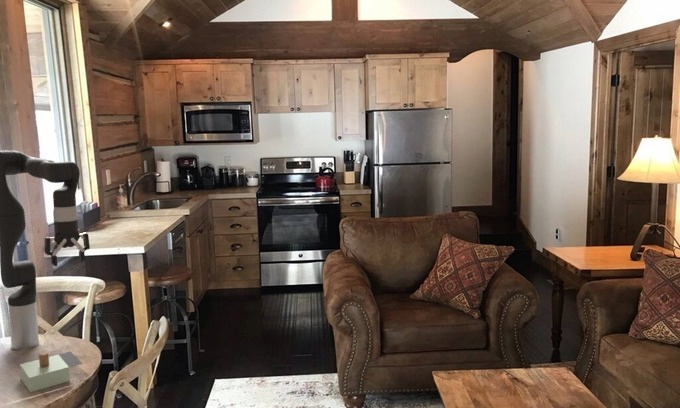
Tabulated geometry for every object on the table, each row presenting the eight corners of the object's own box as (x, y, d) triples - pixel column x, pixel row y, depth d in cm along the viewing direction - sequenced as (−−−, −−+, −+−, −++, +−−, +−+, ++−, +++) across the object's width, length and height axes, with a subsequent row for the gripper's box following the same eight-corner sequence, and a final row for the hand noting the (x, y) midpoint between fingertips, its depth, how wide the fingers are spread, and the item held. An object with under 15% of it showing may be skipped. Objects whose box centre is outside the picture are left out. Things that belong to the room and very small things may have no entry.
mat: (28, 362, 197) (28, 361, 197) (70, 352, 206) (70, 351, 206) (39, 376, 186) (39, 375, 186) (82, 364, 196) (82, 363, 196)
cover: (21, 379, 183) (19, 353, 182) (59, 368, 191) (57, 343, 190) (30, 393, 175) (28, 366, 173) (69, 381, 183) (68, 355, 181)
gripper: (83, 215, 199) (85, 258, 202) (40, 219, 190) (43, 265, 192) (90, 218, 194) (93, 262, 196) (46, 222, 184) (49, 269, 187)
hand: (68, 263), depth 194 cm, fingers open, 8 cm apart
